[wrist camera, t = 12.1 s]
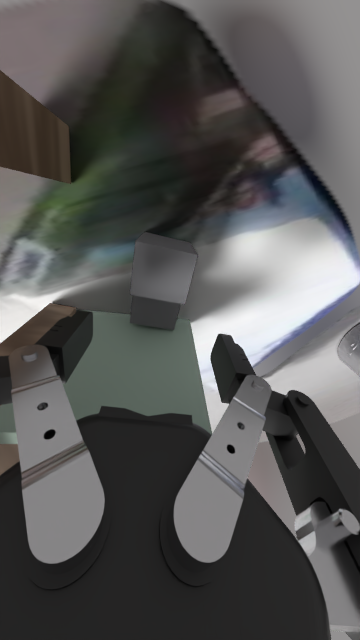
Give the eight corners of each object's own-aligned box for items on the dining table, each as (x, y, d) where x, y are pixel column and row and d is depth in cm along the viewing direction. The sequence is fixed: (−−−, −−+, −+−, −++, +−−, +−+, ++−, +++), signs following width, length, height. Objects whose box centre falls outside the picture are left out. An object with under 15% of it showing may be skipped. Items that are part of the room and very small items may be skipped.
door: (186, 334, 27) (205, 456, 14) (83, 326, 25) (-7, 454, 12) (189, 319, 25) (212, 436, 12) (81, 309, 24) (-22, 431, 11)
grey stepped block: (190, 242, 21) (198, 255, 16) (173, 313, 26) (174, 343, 20) (144, 231, 20) (135, 240, 15) (135, 306, 25) (125, 335, 19)
